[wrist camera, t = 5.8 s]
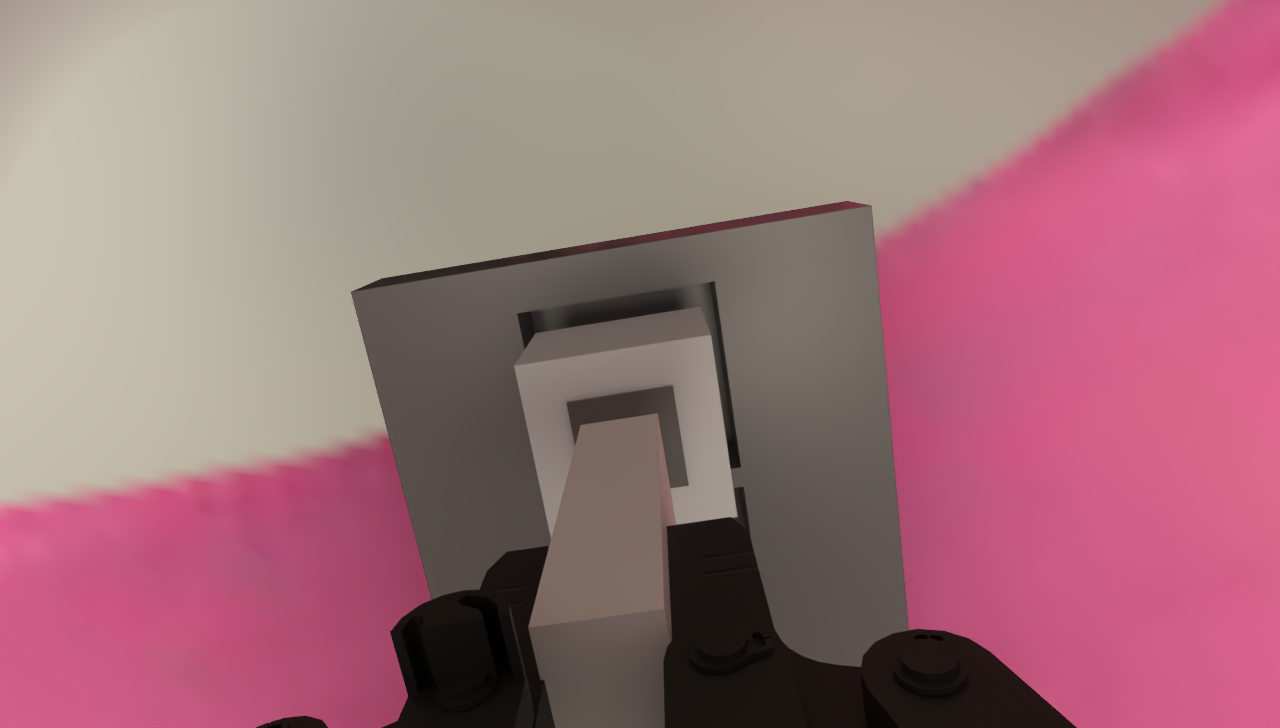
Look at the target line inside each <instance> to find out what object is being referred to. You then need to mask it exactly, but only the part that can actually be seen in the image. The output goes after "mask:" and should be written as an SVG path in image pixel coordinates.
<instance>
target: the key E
mask: <svg viewBox="0 0 1280 728" xmlns="http://www.w3.org/2000/svg"><path fill="white" fill-rule="evenodd" d="M514 368H515V373H516V377H517V382H518V387H519V391H520V396H521V401H522V405H523V410H524V415H525V419H526V424H527V429H528V433H529V438H530V443H531V447H532V452H533V457H534V461H535V466H536V471H537V475H538V480H539V485H540V489H541V494H542V499H543V503H544V508H545V513H546V517H547V522H548V527H549V531H550V536H551V538H552V534H553V530H554V526H555V522H556V518H557V514H558V511H559V507H560V503H561V499H562V495H563V491H564V487H565V484H566V480H567V476H568V472H569V468H570V464H571V460H572V456H573V453H574V449H575V445H576V441H577V437H578V433H579V429H580V426H581V425H584V424H591V423H597V422H604V421H610V420H617V419H623V418H630V417H637V416H643V415H650V414H656V413H658V418H659V424H660V430H661V436H662V442H663V448H664V454H665V460H666V466H667V472H668V478H669V483H670V489H671V495H672V501H673V507H674V513H675V519H676V525H678V524H685V523H692V522H699V521H706V520H713V519H720V518H726V517H732V518H733V517H737V510H736V503H735V496H734V490H733V483H732V476H731V469H730V462H729V455H728V448H727V441H726V435H725V428H724V421H723V414H722V407H721V400H720V393H719V386H718V379H717V373H716V366H715V359H714V352H713V345H712V338H711V333H710V331H709V328H708V325H707V323H706V320H705V317H704V315H703V312H702V309H701V307H695V308H689V309H682V310H676V311H670V312H664V313H658V314H651V315H645V316H639V317H633V318H627V319H620V320H614V321H608V322H602V323H596V324H589V325H583V326H577V327H571V328H564V329H558V330H552V331H546V332H540V333H535V335H534V336H533V338H532V339H531V341H530V343H529V344H528V346H527V347H526V349H525V350H524V352H523V353H522V355H521V356H520V358H519V359H518V361H517V362H516V364H515V365H514Z"/></svg>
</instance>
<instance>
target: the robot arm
mask: <svg viewBox="0 0 1280 728" xmlns="http://www.w3.org/2000/svg"><path fill="white" fill-rule="evenodd" d="M390 633H391V636H392V640H393V643H394V647H395V651H396V654H397V658H398V661H399V665H400V668H401V672H402V675H403V679H404V682H405V686H406V689H407V693H408V699H407V701H406V703H405V705H404V708H403V710H402V712H401V714H400V717H399V719H398V721H396V722H394V723H392V724H389V725H387V726H385V727H382V728H1076V727H1075V726H1074V725H1073V724H1072V723H1071V722H1070V721H1068V720H1067V719H1066V718H1065V717H1064V716H1063V715H1062V714H1060V713H1059V712H1058V711H1057V710H1056V709H1055V708H1054V707H1052V706H1051V705H1050V704H1049V703H1048V702H1047V701H1046V700H1044V699H1043V698H1042V697H1041V696H1040V695H1039V694H1038V693H1036V692H1035V691H1034V690H1033V689H1032V688H1031V687H1030V686H1028V685H1027V684H1026V683H1025V682H1024V681H1023V680H1022V679H1020V678H1019V677H1018V676H1017V675H1016V674H1015V673H1014V672H1012V671H1011V670H1010V669H1009V668H1008V667H1007V666H1006V665H1004V664H1003V663H1002V662H1001V661H1000V660H999V659H998V658H996V657H995V656H994V655H993V654H992V653H991V652H990V651H988V650H986V649H985V648H983V647H982V646H980V645H978V644H977V643H975V642H974V641H972V640H970V639H969V638H965V637H962V636H959V635H955V634H952V633H949V632H946V631H937V630H923V629H916V630H909V631H903V632H897V633H893V634H891V635H889V636H887V637H884V638H882V639H880V640H878V641H876V642H874V644H873V645H872V646H871V647H870V648H869V649H868V650H867V652H866V653H865V654H864V655H863V658H862V665H861V667H856V666H845V665H835V664H830V663H824V662H818V661H815V660H813V659H810V658H807V657H804V656H801V655H800V654H798V653H796V652H795V651H793V650H791V649H790V648H788V647H787V646H786V645H785V644H784V643H783V642H782V640H781V639H780V637H779V635H778V634H777V632H776V630H775V628H774V625H773V621H772V617H771V614H770V610H769V606H768V602H767V599H766V595H765V591H764V587H763V584H762V580H761V576H760V572H759V569H758V565H757V561H756V557H755V553H754V550H753V546H752V542H751V538H750V535H749V531H748V530H747V529H746V528H744V527H743V526H742V525H740V524H739V523H738V522H737V521H735V520H734V519H733V518H732V517H726V518H720V519H713V520H706V521H699V522H692V523H685V524H678V525H676V519H675V513H674V507H673V501H672V495H671V489H670V483H669V478H668V472H667V466H666V460H665V454H664V448H663V442H662V436H661V430H660V424H659V418H658V413H656V414H650V415H643V416H637V417H630V418H623V419H617V420H610V421H604V422H597V423H591V424H584V425H581V426H580V429H579V433H578V437H577V441H576V445H575V449H574V453H573V456H572V460H571V464H570V468H569V472H568V476H567V480H566V484H565V487H564V491H563V495H562V499H561V503H560V507H559V511H558V514H557V518H556V522H555V526H554V530H553V534H552V538H551V542H550V545H549V546H543V547H536V548H529V549H522V550H515V551H508V552H506V553H505V554H504V555H503V556H502V557H501V558H500V559H499V560H498V561H497V562H496V563H495V564H493V565H492V566H491V567H490V568H489V569H488V570H487V572H486V574H485V577H484V579H483V582H482V584H481V587H480V590H463V591H458V592H454V593H450V594H446V595H442V596H440V597H437V598H435V599H433V600H431V601H428V602H426V603H424V604H421V605H420V606H418V607H417V608H415V609H414V610H412V611H411V612H410V613H408V614H407V615H405V616H404V617H402V618H401V620H400V621H399V622H398V623H397V624H396V626H395V627H394V628H393V629H392V630H391V632H390ZM256 728H328V727H327V726H326V724H325V723H324V722H323V721H322V720H320V719H316V718H312V717H308V716H299V717H290V718H283V719H280V720H276V721H272V722H271V723H266V724H264V725H261V726H259V727H256Z"/></svg>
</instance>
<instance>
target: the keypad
mask: <svg viewBox="0 0 1280 728" xmlns="http://www.w3.org/2000/svg"><path fill="white" fill-rule="evenodd" d="M351 294H352V298H353V301H354V306H355V309H356V313H357V317H358V321H359V325H360V328H361V332H362V336H363V340H364V344H365V347H366V351H367V355H368V359H369V363H370V366H371V370H372V374H373V378H374V381H375V385H376V389H377V393H378V397H379V401H380V404H381V408H382V412H383V416H384V420H385V423H386V427H387V431H388V435H389V439H390V442H391V446H392V450H393V454H394V458H395V461H396V465H397V469H398V473H399V477H400V480H401V484H402V488H403V492H404V496H405V499H406V503H407V507H408V511H409V515H410V518H411V522H412V526H413V530H414V534H415V537H416V541H417V545H418V549H419V553H420V556H421V560H422V564H423V568H424V572H425V575H426V579H427V583H428V587H429V591H430V594H431V598H432V600H433V599H435V598H437V597H440V596H442V595H446V594H450V593H454V592H458V591H463V590H480V587H481V584H482V582H483V579H484V577H485V574H486V572H487V570H488V569H489V568H490V567H491V566H492V565H493V564H495V563H496V562H497V561H498V560H499V559H500V558H501V557H502V556H503V555H504V554H505V553H506V552H508V551H515V550H522V549H529V548H536V547H543V546H549V545H550V542H551V536H550V531H549V527H548V522H547V517H546V513H545V508H544V503H543V499H542V494H541V489H540V485H539V480H538V475H537V471H536V466H535V461H534V457H533V452H532V447H531V443H530V438H529V433H528V429H527V424H526V419H525V415H524V410H523V405H522V401H521V396H520V391H519V387H518V382H517V377H516V373H515V368H514V365H515V364H516V362H517V361H518V359H519V358H520V356H521V355H522V353H523V352H524V350H525V349H526V347H527V346H528V344H529V343H530V341H531V339H532V338H533V336H534V335H535V333H540V332H546V331H552V330H558V329H564V328H571V327H577V326H583V325H589V324H596V323H602V322H608V321H614V320H620V319H627V318H633V317H639V316H645V315H651V314H658V313H664V312H670V311H676V310H682V309H689V308H695V307H701V309H702V312H703V315H704V317H705V320H706V323H707V325H708V328H709V331H710V333H711V338H712V345H713V352H714V359H715V366H716V373H717V379H718V386H719V393H720V400H721V407H722V414H723V421H724V428H725V435H726V441H727V448H728V455H729V462H730V469H731V476H732V483H733V490H734V496H735V503H736V510H737V517H733V519H734V520H735V521H737V522H738V523H739V524H740V525H742V526H743V527H744V528H746V529H747V530H748V531H749V535H750V538H751V542H752V546H753V550H754V553H755V557H756V561H757V565H758V569H759V572H760V576H761V580H762V584H763V587H764V591H765V595H766V599H767V602H768V606H769V610H770V614H771V617H772V621H773V625H774V628H775V630H776V632H777V634H778V635H779V637H780V639H781V640H782V642H783V643H784V644H785V645H786V646H787V647H788V648H790V649H791V650H793V651H795V652H796V653H798V654H800V655H801V656H804V657H807V658H810V659H813V660H815V661H818V662H824V663H830V664H835V665H845V666H856V667H861V665H862V658H863V655H864V654H865V653H866V652H867V650H868V649H869V648H870V647H871V646H872V645H873V644H874V642H876V641H878V640H880V639H882V638H884V637H887V636H889V635H891V634H893V633H897V632H903V631H909V628H908V617H907V605H906V594H905V583H904V571H903V560H902V548H901V537H900V525H899V514H898V502H897V491H896V480H895V468H894V457H893V445H892V434H891V422H890V411H889V399H888V388H887V377H886V365H885V354H884V342H883V331H882V319H881V308H880V296H879V285H878V273H877V262H876V251H875V239H874V228H873V216H872V206H871V205H865V204H860V203H855V202H849V201H845V202H839V203H833V204H827V205H822V206H815V207H809V208H803V209H798V210H791V211H785V212H779V213H773V214H767V215H761V216H755V217H749V218H743V219H737V220H731V221H725V222H719V223H713V224H707V225H701V226H695V227H689V228H683V229H677V230H671V231H665V232H659V233H653V234H647V235H641V236H635V237H629V238H623V239H617V240H610V241H604V242H599V243H592V244H586V245H580V246H575V247H568V248H562V249H556V250H550V251H545V252H538V253H532V254H527V255H520V256H514V257H508V258H502V259H496V260H490V261H484V262H479V263H472V264H466V265H460V266H455V267H448V268H442V269H436V270H430V271H424V272H418V273H412V274H407V275H400V276H395V277H388V278H383V279H380V280H377V281H375V282H373V283H371V284H368V285H366V286H364V287H362V288H359V289H357V290H354V291H352V292H351Z"/></svg>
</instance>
